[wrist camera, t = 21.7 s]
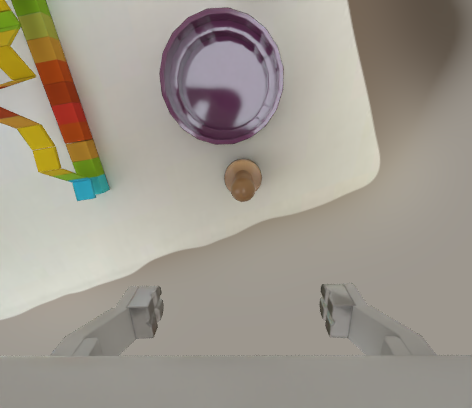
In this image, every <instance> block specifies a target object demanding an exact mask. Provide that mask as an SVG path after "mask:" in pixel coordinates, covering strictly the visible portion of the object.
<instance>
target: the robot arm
mask: <svg viewBox="0 0 472 408" xmlns="http://www.w3.org/2000/svg"><path fill="white" fill-rule="evenodd" d="M321 293H322V297H321V298H320V312H321V315H322V318H323V319H324V320H325V321H326V329H327V331H328V334H329V336H330V337H337V338H339V337H340V338H348V339H349V340H350V341H352V342H353V343H354V344H355V345H356V346H357V347H358V348H359V349H360V350H361V351H362V352H363V353H364V354H366V355H362V356H361V355H355V356H354V355H351V356H350V355H349V356H348V355H347V356H119V355H120V354H121V353H122V352H123V351H124V350H125V349H126V348H127V347H128V346H129V345H130V344H132V343H133V342H134V341H135V340H136V339H139V338H153V337H154V335H155V332H156V330H157V328H158V327H157V322H158V321H160V320H161V317H162V314H163V300H162V299H161V298H160V295H161V288H160V287H159V286H130V287H129V288H128V289H127V290H126V292H125V293H124V295H123V296H122V298H121V300H120V301H119V302H118V304H117V306H116V307H115V308H111V309H110V310H108V311H106V312H105V313H103V314H101V315H100V316H98V317H96V318H95V319H94V320H92V321H90V322H88V323H87V324H85V325H84V326H82V327H80V328H78V329H77V330H75V331H74V332H72V333H70V334H69V335H67V336H65V337H64V339H63V340H62V341H61V342H60V344H59V345H58V346H57V347H56V349H55V350H54V351H53V353H52V354H51V355H50V356H0V408H472V355H436V353H435V352H434V351H433V350H432V348H431V347H430V346H429V345H428V343H427V342H426V341H425V340H424V338H423V337H422V336H421V335H420V334H418V333H416V332H414V331H413V330H411V329H409V328H407V327H406V326H404V325H403V324H401V323H399V322H398V321H396V320H394V319H393V318H391V317H389V316H388V315H386V314H384V313H383V312H381V311H379V310H377V309H376V308H374V307H372V306H368V305H367V303H366V302H365V300H364V299H363V297H362V295H361V294H360V292H359V291H358V289H357V288H356V286H355V285H354V284H353V283H351V284H322V286H321Z"/></svg>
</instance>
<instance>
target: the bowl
mask: <svg viewBox="0 0 472 408" xmlns="http://www.w3.org/2000/svg"><path fill="white" fill-rule="evenodd" d="M283 71H284V68H283V64H282V60H281V57H280V53H279V49H278V47H277V45H276V43H275V42H274V40H273V38H272V37H271V35H270V34H269V32H268V31H267V29H266V28H265V27H264V26H263V25H262V24H260V23H259V22H258V21H257V20H255V19H254V18H253V17H252V16H250V15H248V14H246V13H243V12H240V11H237V10H234V9H231V8H210V9H205V10H203V11H201V12H199V13H197V14H194V15H192V16H190V17H188V18H187V19H186V20H185V21H184V22H183V23H182V24H181V25H180V26H179V27H178V28H177V29H176V30H175V31H174V32H173V33H172V35H171V37H170V39H169V41H168V43H167V45H166V47H165V49H164V51H163V55H162V61H161V67H160V82H161V90H162V96H163V98H164V100H165V103H166V105H167V108H168V110H169V112H170V114H171V115H172V117H173V118H174V119H175V120H176V121H177V123H178V124H179V125H180V126H181V128H182V129H183V130H185V131H186V132H188V133H189V134H191V135H192V136H194V137H195V138H197V139H199V140H202V141H205V142H209V143H212V144H235V143H237V142H240V141H243V140H246V139H248V138H251V137H252V136H253V135H255V134H256V133H257V132H258V131H260V130H261V129H262V128H263V127H265V126H266V124H267V123H268V122H269V120H270V119H271V117H272V116H273V114H274V113H275V111H276V110H277V107H278V104H279V101H280V98H281V95H282V91H283Z"/></svg>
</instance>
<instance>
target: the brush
mask: <svg viewBox="0 0 472 408" xmlns="http://www.w3.org/2000/svg"><path fill="white" fill-rule="evenodd" d="M224 179H225V184H226V186H227V188H228V189H229V190H230V191H231V194H232V196H233V197H234V198H235V199H236V200H238V201H241V202H245V201H248V200H250V199H251V198H252V197H253V196H254V194H255V191H257V189H258V188H259V186H260V184H261V180H262V176H261V172H260V169H259V167H258V166H257V165H256V164H255V163H254V162H252V161H251V160H248V159H239V160H236V161H234V162H232V163H231V164H230V165H229V166H228V168H227V169H226V172H225V178H224Z"/></svg>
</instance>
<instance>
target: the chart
mask: <svg viewBox="0 0 472 408" xmlns="http://www.w3.org/2000/svg"><path fill="white" fill-rule="evenodd" d="M11 1H12V4H13V6H14V9H15V12H16V14H17V17H18V19H17V18H16V16H15V15H14V13H13V12H12V10H11V9H10V7H9V6H8V5H7V3H6V2H5V0H0V68H1V69H2V70H3V71H4V72H5V73H6V74H7V75H8V76H9V77H10V78H11V79H12V80H14V81H10V82H7V83H4V84H1V85H0V89H2V88H5V87H8V86H11V85H14V84H17V83H20V82H23V81H26V80H29V79H32V78H35V76H36V75H35V74H34V73H33V72H32V70H31V69H30V68H29V67H28V66H27V65H26V64H25V62H24V61H23V60H22V59H21V58H20V57H19V56H18V54H17V53H16V52H15V51H14V50H13V49H12V48H11V47H10V45H11V44H12V42H13V40H14V38H15V36H16V35H17V33H18V31H19V29H20V27H21V28H22V30H23V33H24V36H25V38H26V41H27V44H28V46H29V49H30V52H31V54H32V57H33V59H34V62H35V65H36V67H37V70H38V73H39V75H40V78H41V81H42V83H43V85H44V89H45V91H46V94H47V97H48V99H49V102H50V105H51V107H52V110H53V112H54V115H55V118H56V120H57V123H58V126H59V128H60V131H61V134H62V136H63V139H64V142H65V144H66V147H67V150H68V152H69V155H70V158H71V160H72V163H73V166H74V168H75V171H76V173H73V172H71V171H68V170H65V169H60V168H61V165H60V161H59V157H58V153H57V149H56V147H54V146H55V145H54V143H53V142H52V140H51V138H50V137H49V135H48V134H47V132H46V131H45V129H44V128H43V126H42V125H39V123H36V122H34V121H32V120H30V119H27V118H25V117H23V116H20V115H18V114H15V113H13V112H11V111H9V110H6V109H4V108H2V107H0V123H3V124H6V125H8V126H11V127H14V128H18V129H17V130H18V131H19V132H20V134H21V135H22V137H23V138H24V139H25V141H26V142H27V144H28V145H29V146H30V148H31V149H32V150H34V151H33V154H34V158H35V161H36V165H37V168H38V172H40V173H43V174H46V175H49V176H53V177H56V178H59V179H62V180H66V181H69V182H73V187H74V191H75V195H76V199H77V201H80V200H86V199H93V198H96V195H95V194H100V193H104V192H106V191H108V190H110V189H109V186H108V183H107V180H106V177H105V174H104V171H103V168H102V165H101V162H100V159H99V156H98V153H97V150H96V147H95V144H94V141H93V140H90V139H93V138H92V135H91V132H90V129H89V126H88V123H87V120H86V117H85V114H84V112H83V109H82V106H81V103H80V100H79V97H78V94H77V91H76V88H75V85H74V82H73V79H72V76H71V73H70V70H69V67H68V65H67V62H66V59H65V56H64V53H63V50H62V47H61V44H60V41H59V38H58V35H57V32H56V29H55V26H54V23H53V21H52V18H51V15H50V12H49V9H48V6H47V3H46V0H11ZM18 20H19V21H18ZM28 126H29V127H28ZM84 140H88V141H84ZM78 141H82V142H78ZM73 142H76V143H73ZM67 143H71V144H67ZM48 147H51V148H48ZM42 148H45V149H42ZM36 149H40V150H36ZM55 169H57V170H55ZM49 170H51V171H49ZM43 171H44V172H43Z"/></svg>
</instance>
